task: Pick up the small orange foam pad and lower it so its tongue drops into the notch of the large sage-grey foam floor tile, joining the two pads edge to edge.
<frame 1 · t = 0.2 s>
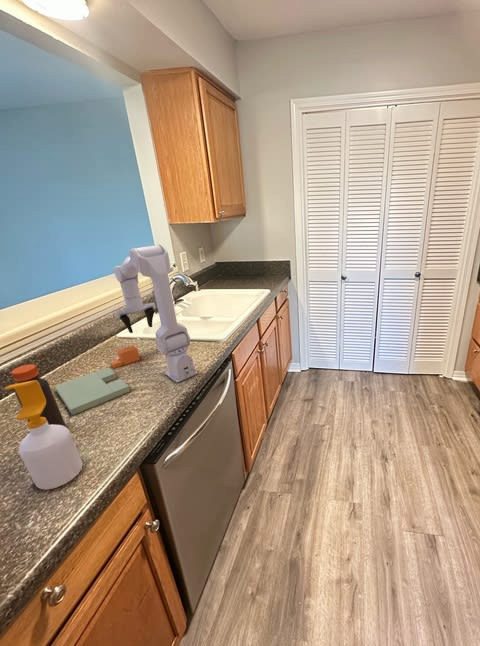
hand: (140, 329, 129), 10 cm above the countertop, tool pointing down, fingers open, 7 cm apart
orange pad: (130, 360, 126), on the countertop
grey tile: (92, 391, 106), on the countertop
vinegar: (52, 433, 88), on the countertop
soap bottle: (60, 474, 74), on the countertop
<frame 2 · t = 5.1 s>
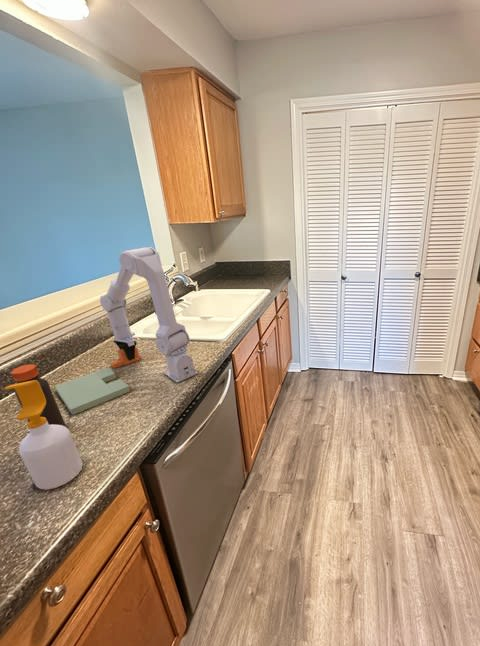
hand: (129, 357, 125), 1 cm above the countertop, tool pointing down, fingers closed on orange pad, 4 cm apart
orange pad: (130, 360, 126), on the countertop, touching gripper
everything else where it was.
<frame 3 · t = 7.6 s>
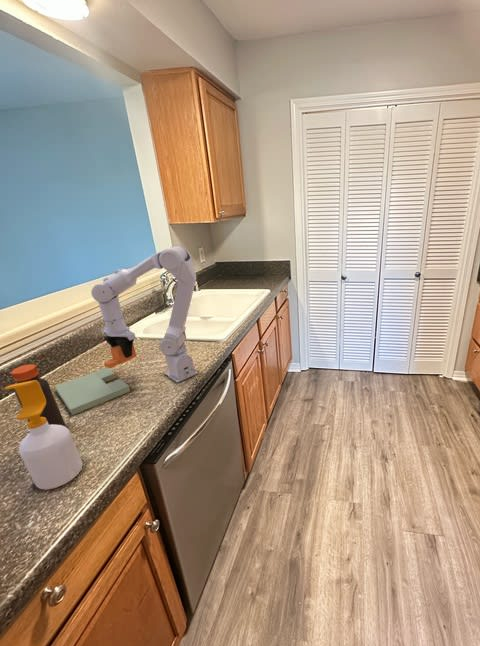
hand: (124, 355, 111), 8 cm above the countertop, tool pointing down, fingers closed on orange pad, 4 cm apart
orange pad: (125, 359, 112), point 7 cm above the countertop, touching gripper
everything else where it was.
when the fingers open (2 cm above the countertop, at t = 10.3 s): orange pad stays where it is, resting on grey tile.
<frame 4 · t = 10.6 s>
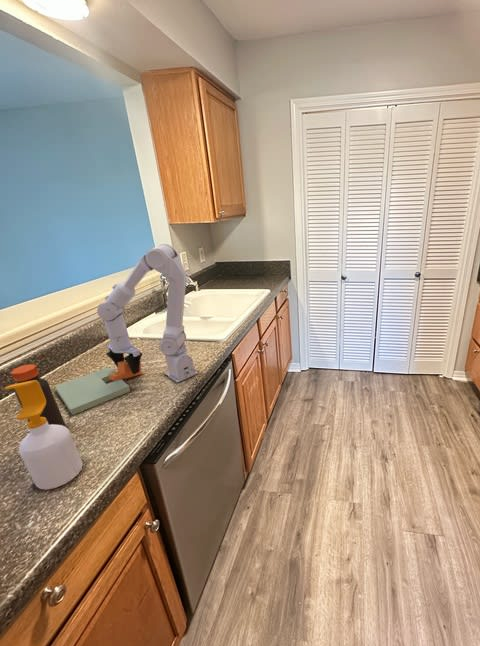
hand: (129, 370, 113), 2 cm above the countertop, tool pointing down, fingers open, 7 cm apart
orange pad: (129, 375, 114), point 1 cm above the countertop, tilted 14°, touching grey tile
everything else where it was.
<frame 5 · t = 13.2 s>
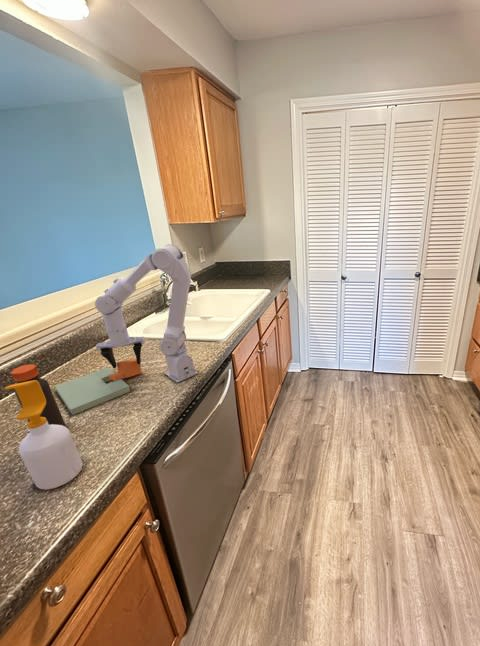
hand: (127, 365, 113), 5 cm above the countertop, tool pointing down, fingers open, 7 cm apart
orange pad: (129, 374, 114), point 1 cm above the countertop, tilted 13°, touching gripper
everything else where it was.
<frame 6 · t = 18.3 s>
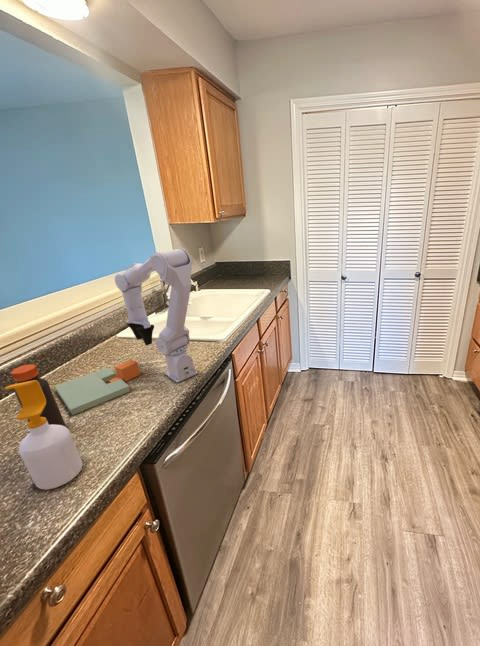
hand: (144, 341, 119), 9 cm above the countertop, tool pointing down, fingers open, 7 cm apart
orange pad: (129, 376, 114), on the countertop
everything else where it was.
at the end: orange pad 0.3 cm from the target spot on the countertop beside the grey tile, on the countertop; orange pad tilted 0°; the gripper is holding nothing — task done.
